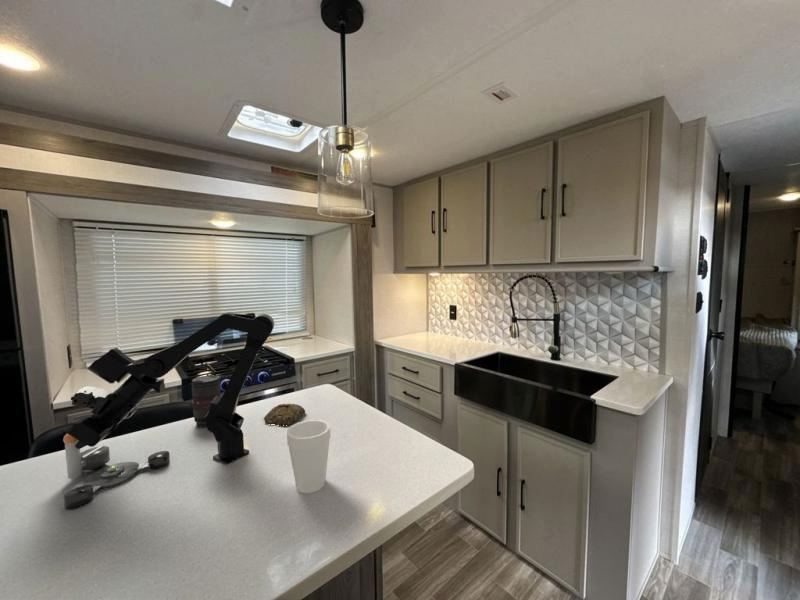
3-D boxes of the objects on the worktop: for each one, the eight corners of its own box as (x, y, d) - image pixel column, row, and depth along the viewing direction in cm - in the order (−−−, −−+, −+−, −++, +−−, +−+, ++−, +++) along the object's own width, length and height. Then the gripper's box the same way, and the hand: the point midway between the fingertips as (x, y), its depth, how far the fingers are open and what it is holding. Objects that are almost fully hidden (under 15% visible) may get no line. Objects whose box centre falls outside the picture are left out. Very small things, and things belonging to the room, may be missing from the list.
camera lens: (209, 429, 104) (206, 382, 103) (187, 427, 106) (184, 381, 105) (227, 418, 112) (225, 375, 111) (207, 417, 114) (204, 374, 113)
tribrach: (174, 463, 85) (173, 453, 85) (69, 512, 67) (68, 500, 67) (138, 447, 93) (138, 438, 93) (37, 488, 76) (36, 477, 75)
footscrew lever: (92, 457, 86) (89, 418, 85) (116, 457, 86) (113, 417, 85) (56, 479, 77) (52, 435, 76) (82, 478, 77) (78, 434, 76)
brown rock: (310, 413, 116) (309, 399, 116) (290, 428, 104) (289, 413, 104) (277, 410, 119) (277, 397, 119) (255, 425, 107) (254, 410, 107)
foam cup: (339, 476, 78) (337, 422, 77) (317, 501, 69) (315, 441, 68) (305, 469, 81) (303, 417, 80) (280, 493, 72) (277, 435, 71)
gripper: (118, 365, 87) (70, 412, 84) (73, 386, 69) (10, 447, 67) (156, 390, 90) (111, 436, 87) (122, 416, 72) (64, 476, 69)
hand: (78, 447), depth 78 cm, fingers closed, pressing on footscrew lever
